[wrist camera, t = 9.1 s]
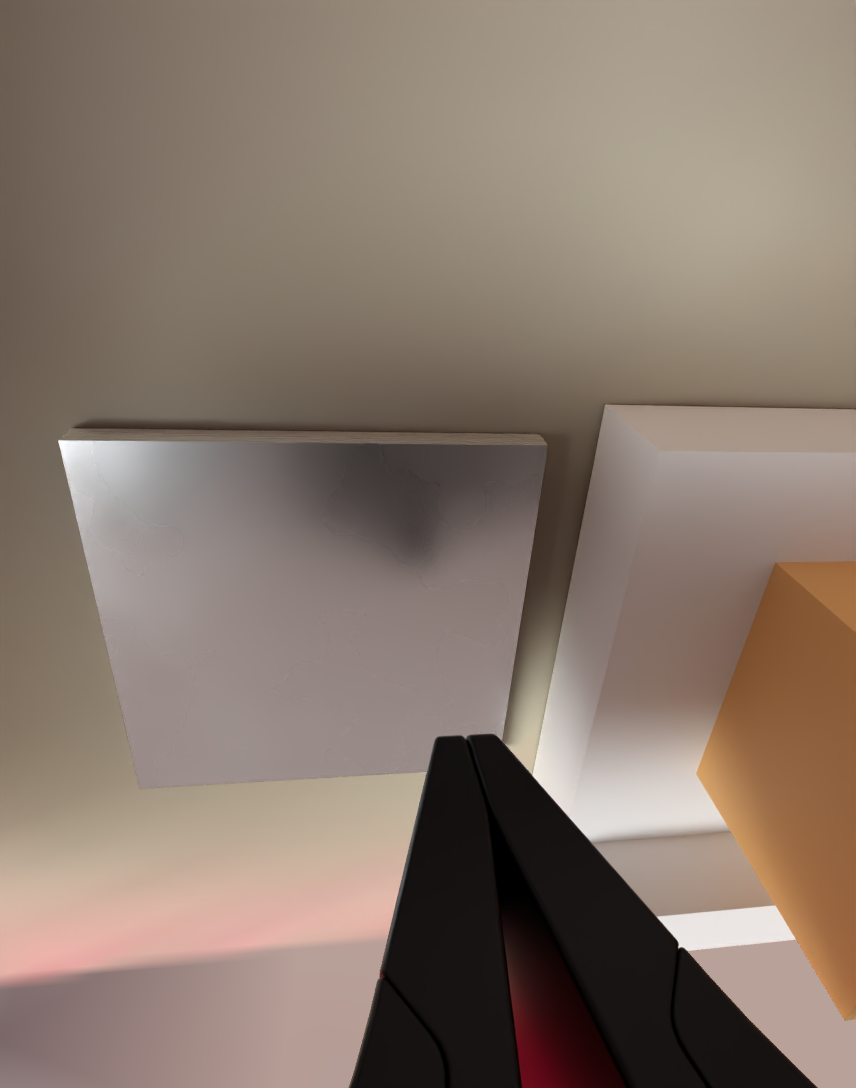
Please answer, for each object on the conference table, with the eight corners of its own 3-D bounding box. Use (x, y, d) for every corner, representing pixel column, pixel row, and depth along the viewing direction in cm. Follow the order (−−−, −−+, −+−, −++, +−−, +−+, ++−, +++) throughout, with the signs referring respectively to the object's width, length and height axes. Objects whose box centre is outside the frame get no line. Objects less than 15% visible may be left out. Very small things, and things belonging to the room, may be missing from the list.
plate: (71, 427, 9) (57, 440, 9) (539, 434, 10) (548, 445, 10) (146, 768, 13) (139, 788, 12) (492, 748, 14) (497, 767, 13)
